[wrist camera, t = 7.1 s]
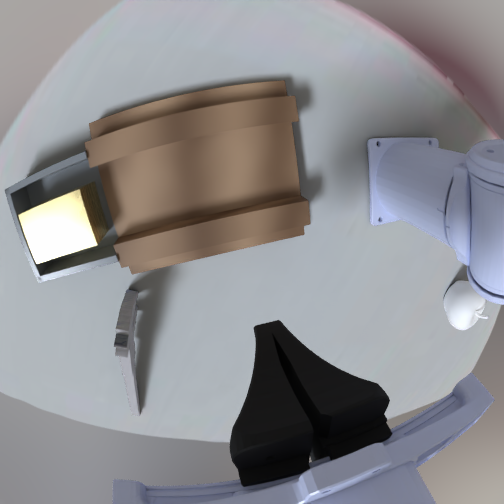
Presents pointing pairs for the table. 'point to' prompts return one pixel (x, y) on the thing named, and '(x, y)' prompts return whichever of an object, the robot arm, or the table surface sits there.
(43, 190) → the tray
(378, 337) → the table surface
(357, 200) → the table surface
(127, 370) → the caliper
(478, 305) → the plain white apple
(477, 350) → the table surface
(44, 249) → the block
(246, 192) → the slot board
